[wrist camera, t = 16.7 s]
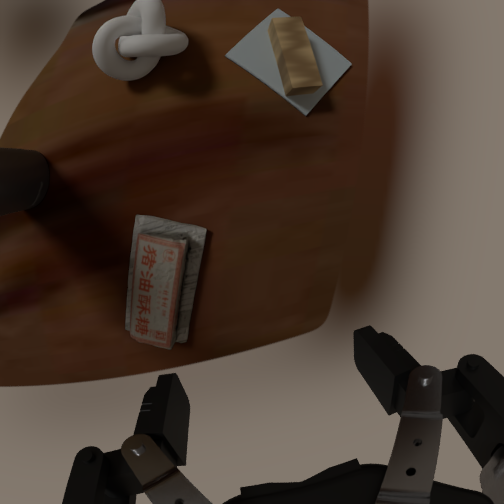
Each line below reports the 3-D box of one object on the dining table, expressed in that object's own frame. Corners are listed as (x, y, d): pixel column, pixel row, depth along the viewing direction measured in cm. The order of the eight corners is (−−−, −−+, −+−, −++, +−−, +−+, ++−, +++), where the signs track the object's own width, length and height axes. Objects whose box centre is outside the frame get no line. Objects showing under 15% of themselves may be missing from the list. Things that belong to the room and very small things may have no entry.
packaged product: (184, 357, 38) (118, 342, 36) (187, 339, 42) (127, 326, 41) (206, 233, 34) (127, 217, 32) (208, 226, 38) (138, 212, 37)
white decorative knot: (136, 105, 33) (113, 88, 24) (93, 58, 30) (67, 36, 21) (200, 54, 32) (195, 24, 23) (153, 11, 29) (140, -20, 20)
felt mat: (225, 56, 32) (225, 55, 32) (277, 9, 30) (277, 8, 30) (305, 116, 35) (306, 115, 35) (350, 64, 34) (351, 64, 33)
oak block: (292, 88, 30) (271, 17, 27) (285, 96, 34) (267, 30, 31) (322, 85, 30) (300, 16, 27) (313, 93, 34) (294, 29, 31)
